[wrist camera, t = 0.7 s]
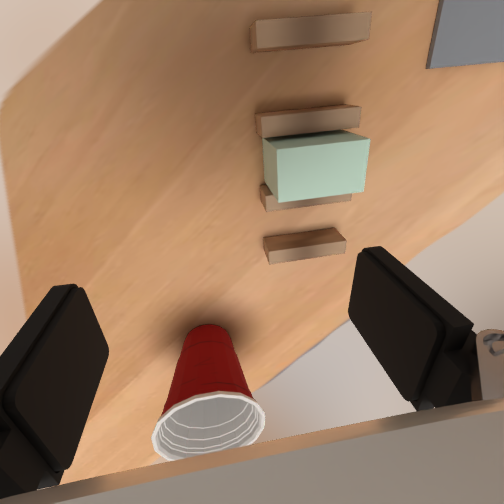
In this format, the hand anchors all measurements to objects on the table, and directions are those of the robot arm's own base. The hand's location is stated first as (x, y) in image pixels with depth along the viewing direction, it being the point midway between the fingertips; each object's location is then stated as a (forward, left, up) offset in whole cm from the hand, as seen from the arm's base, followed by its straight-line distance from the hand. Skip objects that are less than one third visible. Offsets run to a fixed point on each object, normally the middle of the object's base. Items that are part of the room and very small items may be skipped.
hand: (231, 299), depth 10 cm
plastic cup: (+4, +22, -19) cm, 29 cm away
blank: (-8, 0, -19) cm, 20 cm away
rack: (-8, 0, -19) cm, 20 cm away
